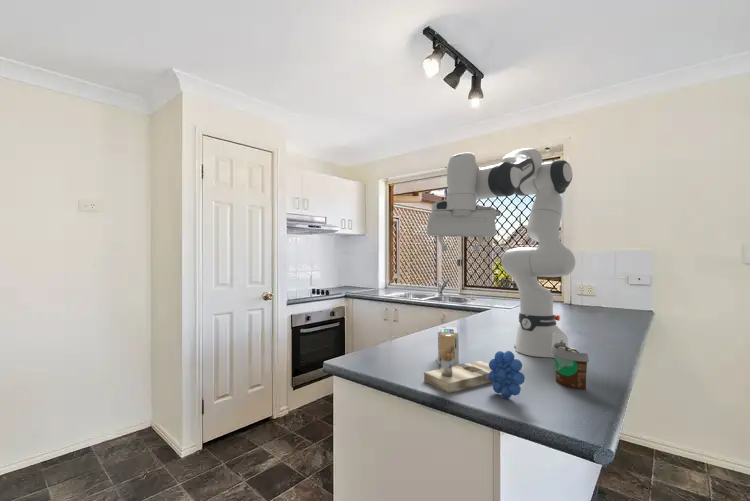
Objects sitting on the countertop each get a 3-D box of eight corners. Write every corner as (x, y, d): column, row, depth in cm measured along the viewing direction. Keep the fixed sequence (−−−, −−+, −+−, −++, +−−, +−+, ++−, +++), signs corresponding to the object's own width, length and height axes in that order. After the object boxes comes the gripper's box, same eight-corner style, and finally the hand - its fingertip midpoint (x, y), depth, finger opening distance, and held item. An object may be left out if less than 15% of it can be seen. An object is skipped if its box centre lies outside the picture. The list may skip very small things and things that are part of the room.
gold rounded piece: (447, 371, 100) (447, 332, 100) (458, 376, 96) (458, 335, 96) (435, 374, 97) (435, 334, 98) (446, 378, 94) (446, 337, 94)
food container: (543, 375, 104) (543, 342, 104) (564, 376, 104) (564, 342, 104) (564, 392, 91) (564, 353, 92) (588, 392, 91) (588, 353, 91)
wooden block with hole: (479, 368, 110) (479, 360, 110) (505, 378, 101) (505, 369, 101) (424, 381, 99) (424, 371, 99) (448, 393, 90) (448, 382, 90)
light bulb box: (458, 366, 112) (458, 333, 112) (437, 365, 113) (437, 332, 114) (457, 357, 123) (457, 326, 123) (438, 356, 124) (438, 325, 124)
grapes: (537, 404, 84) (537, 354, 84) (515, 409, 81) (515, 357, 81) (502, 387, 94) (502, 342, 94) (482, 391, 92) (482, 345, 92)
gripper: (494, 207, 108) (493, 252, 107) (427, 207, 111) (426, 251, 110) (498, 204, 101) (498, 251, 101) (427, 203, 104) (426, 250, 104)
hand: (460, 251), depth 105 cm, fingers open, 8 cm apart
